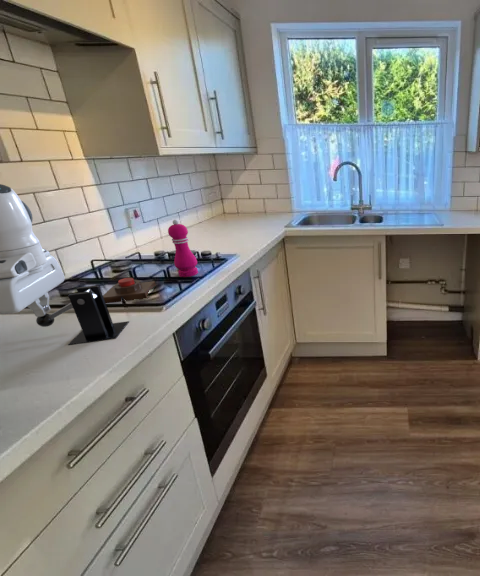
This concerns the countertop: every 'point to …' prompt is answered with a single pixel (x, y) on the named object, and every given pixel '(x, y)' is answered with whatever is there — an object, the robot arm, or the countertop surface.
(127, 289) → the button block
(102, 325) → the bracket
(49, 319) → the lever
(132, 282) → the button
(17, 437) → the countertop surface
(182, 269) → the pepper mill
